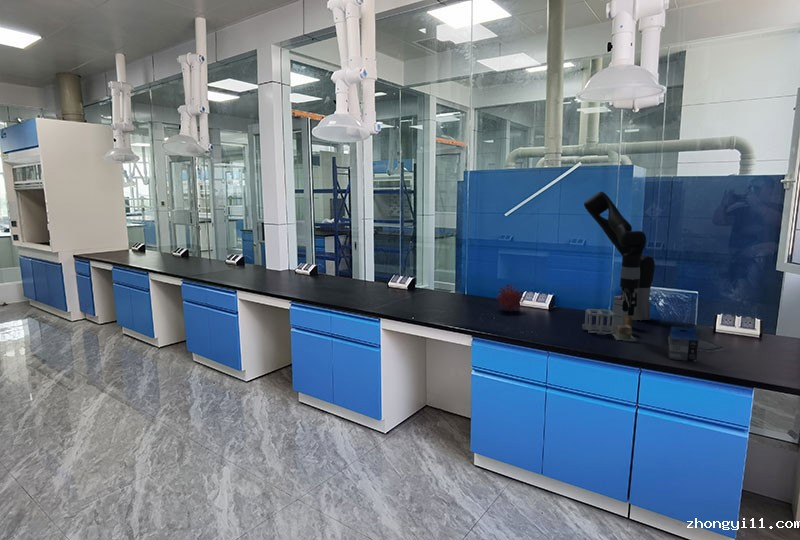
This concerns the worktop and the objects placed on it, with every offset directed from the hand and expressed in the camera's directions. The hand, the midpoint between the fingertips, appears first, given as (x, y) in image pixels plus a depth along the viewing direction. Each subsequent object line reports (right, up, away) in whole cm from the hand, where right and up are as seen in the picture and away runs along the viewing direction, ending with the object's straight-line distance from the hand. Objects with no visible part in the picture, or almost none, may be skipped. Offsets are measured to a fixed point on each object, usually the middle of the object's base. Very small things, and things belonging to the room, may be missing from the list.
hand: (627, 313), depth 199 cm
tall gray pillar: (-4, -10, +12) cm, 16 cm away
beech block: (-1, -11, +2) cm, 11 cm away
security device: (+26, -14, -8) cm, 30 cm away
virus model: (-40, -4, +52) cm, 66 cm away
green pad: (-1, -12, +2) cm, 12 cm away
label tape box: (+8, -16, -25) cm, 30 cm away
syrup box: (+9, -9, +24) cm, 27 cm away
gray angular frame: (-7, -10, +13) cm, 18 cm away
